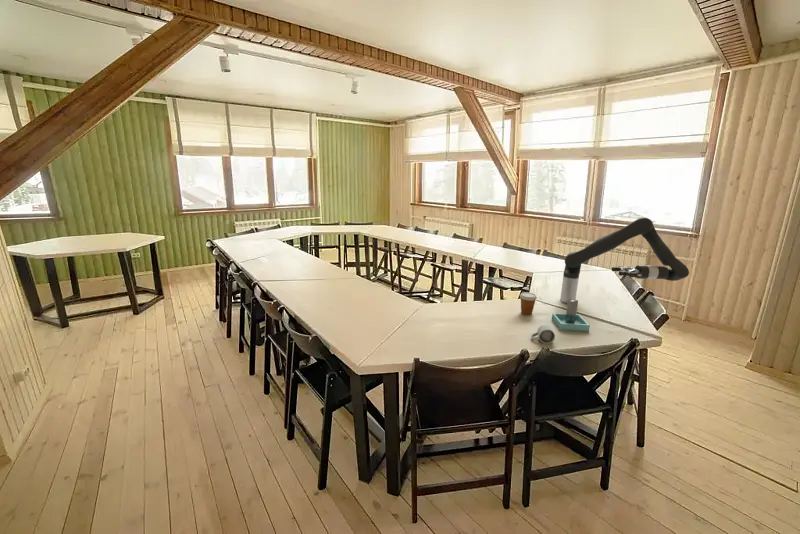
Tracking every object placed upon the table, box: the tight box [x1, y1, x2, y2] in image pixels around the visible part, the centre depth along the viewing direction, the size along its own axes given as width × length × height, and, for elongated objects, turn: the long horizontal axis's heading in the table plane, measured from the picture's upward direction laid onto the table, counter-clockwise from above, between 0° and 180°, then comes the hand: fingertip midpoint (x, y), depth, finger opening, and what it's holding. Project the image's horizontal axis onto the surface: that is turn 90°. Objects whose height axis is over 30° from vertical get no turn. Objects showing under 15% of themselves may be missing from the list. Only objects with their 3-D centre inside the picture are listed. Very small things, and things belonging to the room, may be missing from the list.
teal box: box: [551, 312, 591, 333], centre depth 200 cm, size 15×15×4 cm
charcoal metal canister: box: [565, 299, 579, 324], centre depth 199 cm, size 5×5×14 cm
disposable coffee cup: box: [519, 291, 537, 316], centre depth 216 cm, size 10×10×12 cm
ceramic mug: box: [530, 324, 556, 344], centre depth 183 cm, size 11×8×8 cm
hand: (615, 271), depth 200 cm, fingers open, 8 cm apart
